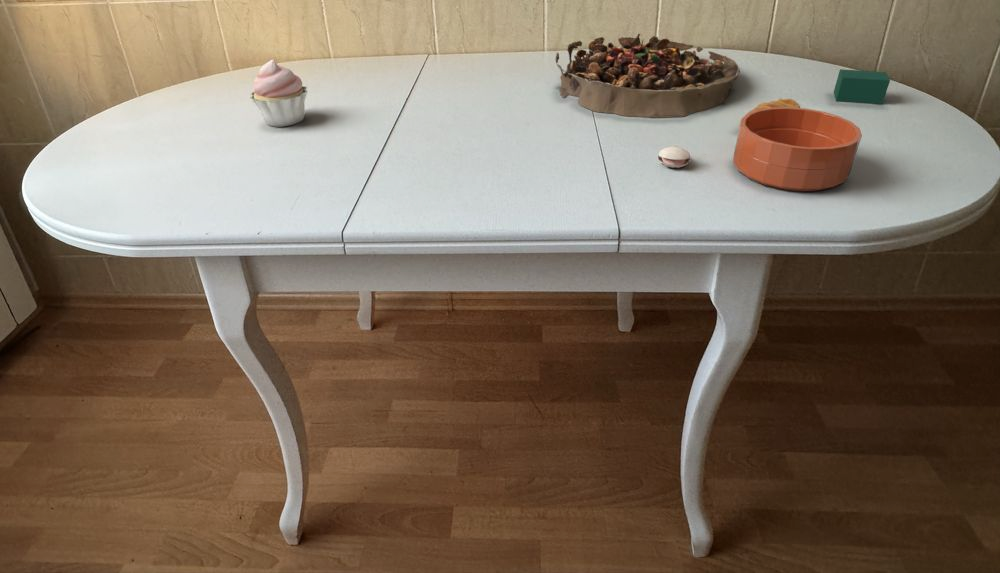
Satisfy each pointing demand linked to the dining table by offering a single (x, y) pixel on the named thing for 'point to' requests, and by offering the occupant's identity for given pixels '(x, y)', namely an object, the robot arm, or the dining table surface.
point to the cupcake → (279, 95)
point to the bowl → (796, 148)
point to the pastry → (777, 104)
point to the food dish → (646, 78)
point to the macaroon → (674, 157)
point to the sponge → (861, 86)
